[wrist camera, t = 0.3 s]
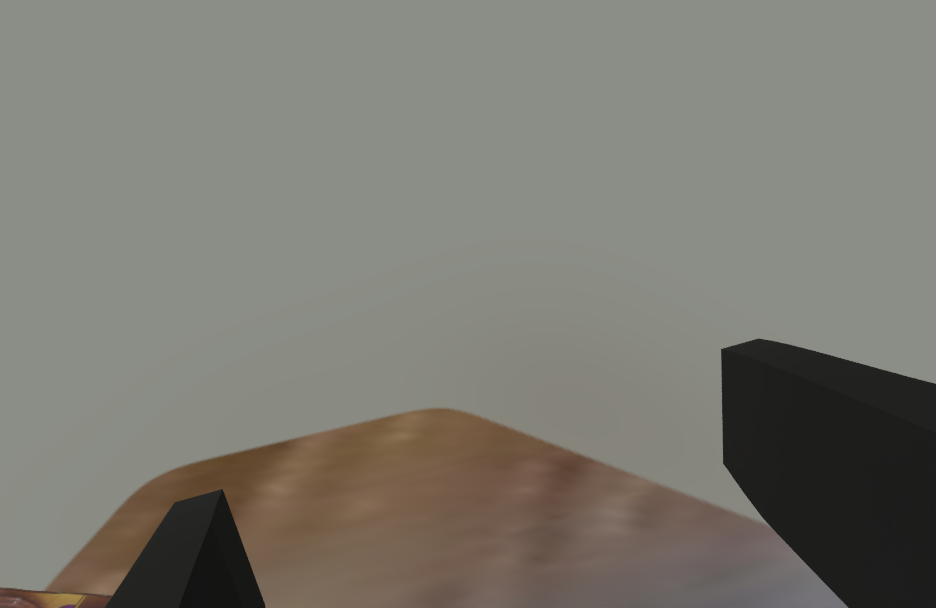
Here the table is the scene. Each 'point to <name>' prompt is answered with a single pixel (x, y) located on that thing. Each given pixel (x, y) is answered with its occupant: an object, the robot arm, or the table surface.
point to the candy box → (50, 599)
